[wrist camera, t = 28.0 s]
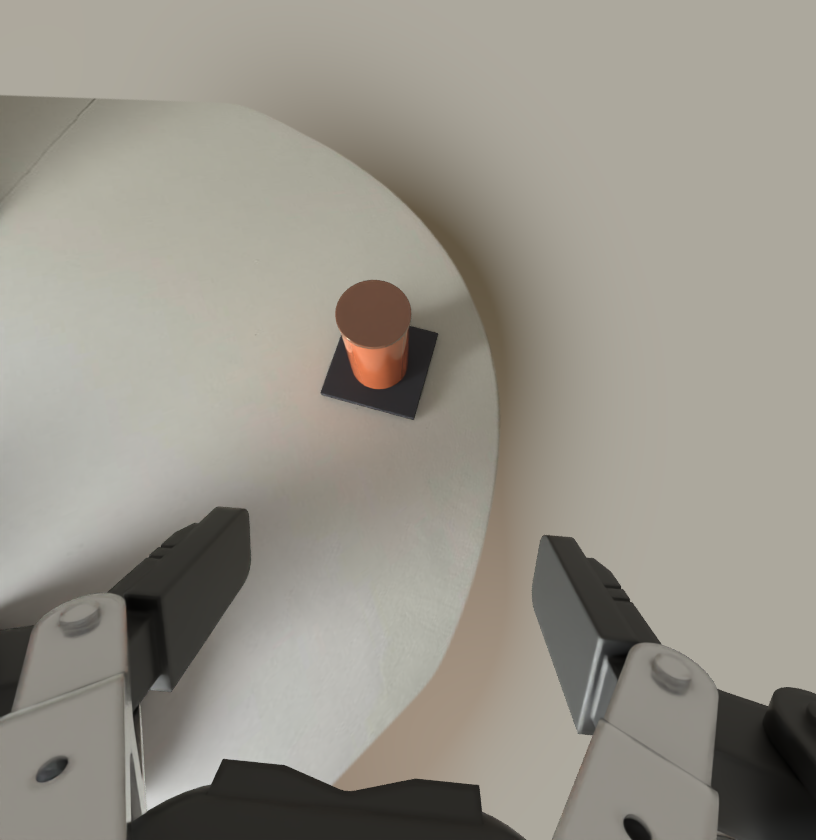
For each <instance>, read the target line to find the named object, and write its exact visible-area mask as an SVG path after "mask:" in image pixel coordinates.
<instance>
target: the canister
mask: <svg viewBox="0 0 816 840" xmlns="http://www.w3.org/2000/svg"><path fill="white" fill-rule="evenodd" d="M335 317H336V322H337V325H338V328H339V330H340V332H341V335H342V338H343V341H344V345H345V348H346V351H347V355H348V358H349V361H350V365H351V368H352V371H353V374H354V376H355V377H356V379H357V380H358V381H359V382H360V383H362V384H363V385H365V386H367V387H369V388H373V389H385V388H389V387H392V386H394V385H395V384H397V383H398V382H399V381H400V380H401V379H402V378H403V377H404V375H405V373H406V371H407V367H408V352H409V329H410V322H411V307H410V303H409V301H408V299H407V297H406V296H405V294H404V293H403V292H402V291H401V290H400V289H399V288H398V287H396V286H394V285H393V284H391V283H388V282H385V281H380V280H367V281H363V282H359V283H357V284H355V285H353V286H351V287H350V288H349V289H347V290H346V291H345V292H344V293H343V295H342V296H341V297H340V299H339V301H338V303H337V306H336V312H335Z"/></svg>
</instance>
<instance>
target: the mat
mask: <svg viewBox="0 0 816 840" xmlns="http://www.w3.org/2000/svg"><path fill="white" fill-rule="evenodd" d="M437 336H438V333H435V332H431V331H428V330H424V329H420V328H416V327H412V326H410V329H409V352H408V367H407V371H406V373H405V375H404V377H403V378H402V379H401V380H400V381H399V382H398V383H397V384H395V385H394V386H392V387H389V388H385V389H373V388H369V387H367V386H365V385H363V384H362V383H360V382H359V381H358V380H357V379H356V377H355V376H354V374H353V371H352V368H351V365H350V361H349V358H348V355H347V351H346V348H345V345H344V341H343V338H342V335H341V337H340V340H339V343H338V346H337V348H336V351H335V354H334V357H333V359H332V362H331V365H330V368H329V371H328V373H327V376H326V379H325V382H324V385H323V387H322V390H321V395H324V396H328V397H331V398H335V399H339V400H342V401H346V402H350V403H353V404H357V405H361V406H364V407H368V408H372V409H375V410H379V411H383V412H387V413H390V414H394V415H398V416H401V417H405V418H409V419H412V420H414V417H415V414H416V410H417V407H418V403H419V400H420V396H421V393H422V389H423V386H424V382H425V378H426V375H427V371H428V368H429V364H430V361H431V357H432V354H433V350H434V347H435V343H436V340H437Z"/></svg>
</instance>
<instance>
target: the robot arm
mask: <svg viewBox="0 0 816 840" xmlns="http://www.w3.org/2000/svg"><path fill="white" fill-rule="evenodd" d="M250 564H251V548H250V524H249V513H248V511H247V510H246V509H241V508H230V507H216V508H215V509H213V510H212V511H211V512H210V513H209V514H208V515H207V516H206V517H205V518H204V519H203V520H202V521H201V522H200V523H193V524H191V525H189V526H187V527H185V528H183V529H181V530H179V531H177V532H175V533H174V534H173V535H172V536H171V537H169V538H168V539H167V540H166V541H165V542H164V543H163V544H161V547H158V548H157V549H156V550H155V551H154V552H152V553H151V554H150V555H149V558H146V559H144V560H143V561H142V562H141V563H140V564H139V565H138V566H136V567H135V568H134V569H133V570H132V571H131V572H130V573H129V574H127V575H126V576H125V577H124V578H123V579H122V580H121V581H119V582H118V583H117V584H116V585H115V586H114V587H113V588H112V589H110V590H109V591H108V592H107V593H96V594H90V595H85V596H82V597H78V598H75V599H73V600H70V601H68V602H66V603H63V604H61V605H59V606H58V607H56V608H54V609H53V610H51V611H50V612H48V613H47V614H45V615H44V616H43V617H42V618H41V619H40V620H39V621H38V622H37V623H36V624H35V625H34V626H27V627H20V628H13V629H6V630H0V840H526V839H525V838H524V837H522V836H521V835H520V834H518V833H517V832H516V831H514V830H513V829H512V828H510V827H509V826H508V825H506V824H504V823H503V822H501V821H499V820H498V819H496V818H494V817H493V816H490V815H488V814H486V813H484V812H482V808H481V798H480V789H479V785H472V784H462V783H452V782H443V781H433V780H423V779H412V780H406V781H401V782H396V783H391V784H386V785H381V786H376V787H371V788H367V789H361V790H356V791H343V790H340V789H338V788H335V787H333V786H331V785H329V784H326V783H324V782H322V781H320V780H317V779H315V778H313V777H310V776H308V775H306V774H304V773H301V772H299V771H297V770H295V769H292V768H290V767H288V766H285V765H277V764H267V763H258V762H248V761H238V760H228V759H223V760H222V762H221V764H220V766H219V769H218V771H217V773H216V775H215V777H214V780H213V782H212V784H211V785H207V786H202V787H199V788H196V789H193V790H190V791H187V792H184V793H182V794H180V795H177V796H175V797H173V798H170V799H168V800H166V801H165V802H163V803H161V804H159V805H157V806H156V807H154V808H152V809H150V810H149V811H147V804H146V790H145V772H144V754H143V736H142V717H141V707H140V702H141V701H142V699H143V698H144V696H145V695H146V694H147V692H148V691H149V690H157V691H167V692H172V690H173V689H174V687H175V686H176V684H177V683H178V681H179V680H180V678H181V677H182V675H183V674H184V672H185V671H186V669H187V668H188V666H189V665H190V663H191V662H192V660H193V659H194V657H195V656H196V655H197V653H198V652H199V650H200V649H201V647H202V646H203V644H204V643H205V641H206V640H207V638H208V637H209V635H210V634H211V632H212V631H213V629H214V628H215V626H216V625H217V623H218V622H219V620H220V619H221V617H222V616H223V614H224V613H225V611H226V610H227V608H228V607H229V605H230V604H231V602H232V601H233V599H234V598H235V596H236V595H237V593H238V592H239V590H240V589H241V587H242V586H243V584H244V583H245V581H246V579H247V576H248V573H249V570H250ZM532 602H533V607H534V611H535V614H536V617H537V619H538V622H539V625H540V628H541V631H542V633H543V636H544V639H545V642H546V645H547V648H548V650H549V653H550V656H551V659H552V661H553V665H554V667H555V670H556V673H557V676H558V678H559V682H560V684H561V687H562V690H563V693H564V696H565V698H566V701H567V704H568V707H569V710H570V712H571V715H572V718H573V721H574V724H575V727H576V729H577V732H578V734H585V735H593V736H592V739H591V741H590V744H589V746H588V749H587V752H586V754H585V757H584V759H583V762H582V764H581V767H580V769H579V772H578V774H577V777H576V780H575V782H574V785H573V787H572V790H571V792H570V795H569V798H568V800H567V802H566V805H565V808H564V810H563V813H562V815H561V818H560V821H559V823H558V826H557V828H556V830H555V833H554V836H553V838H552V840H816V694H814V693H812V692H809V691H806V690H802V689H797V688H791V687H784V688H780V689H777V690H776V691H775V692H774V694H773V696H772V698H771V701H770V704H769V706H766V705H763V704H759V703H757V702H754V701H751V700H748V699H744V698H742V697H739V696H736V695H733V694H730V693H727V692H724V691H722V690H719V689H717V688H716V685H715V684H714V682H713V680H712V679H711V678H710V676H709V675H708V674H707V673H706V672H705V671H704V670H703V669H702V668H701V667H700V666H699V665H698V664H697V663H695V662H694V661H693V660H692V659H690V658H689V657H687V656H685V655H684V654H682V653H680V652H678V651H676V650H674V649H672V648H669V647H667V646H664V645H662V644H661V643H660V641H659V640H658V639H657V637H656V636H655V634H654V633H653V632H652V630H651V628H650V627H649V626H648V624H647V623H646V621H645V620H644V618H643V617H642V616H641V614H640V613H639V611H638V610H637V608H636V607H635V606H634V604H633V603H632V602H630V599H629V597H628V596H627V594H626V593H625V591H624V590H623V589H621V586H620V584H619V583H618V581H617V580H616V578H615V577H614V576H613V574H612V573H611V571H609V570H608V569H607V568H606V567H604V566H603V565H602V564H600V563H599V562H598V561H596V560H595V559H594V558H586V556H585V555H584V553H583V552H582V550H581V549H580V547H579V546H578V544H577V542H576V541H575V539H574V538H572V537H562V536H550V535H543V536H542V538H541V540H540V545H539V550H538V556H537V561H536V567H535V573H534V578H533V584H532Z"/></svg>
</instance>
